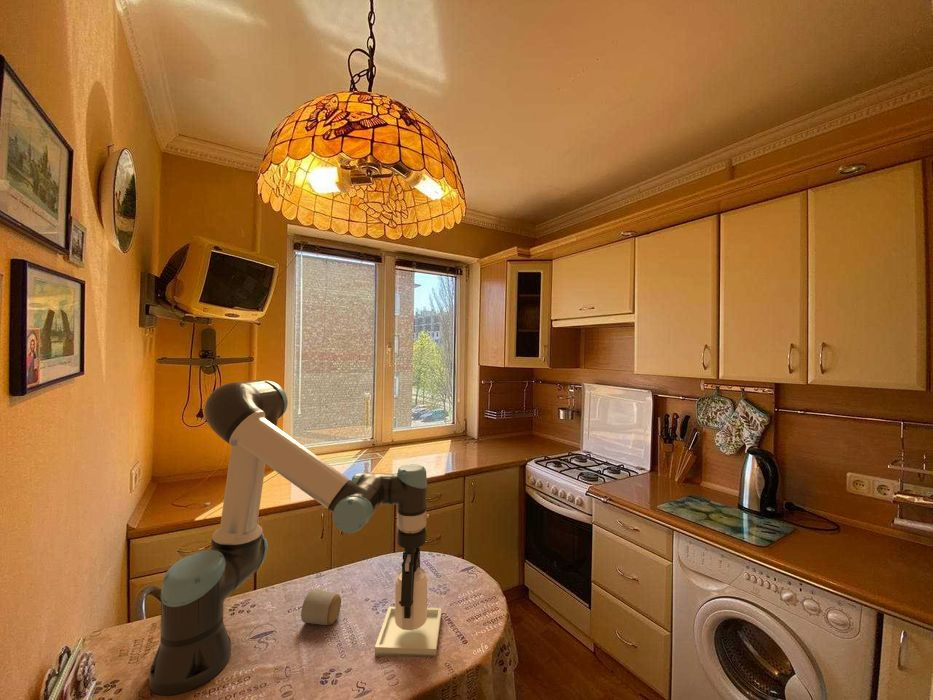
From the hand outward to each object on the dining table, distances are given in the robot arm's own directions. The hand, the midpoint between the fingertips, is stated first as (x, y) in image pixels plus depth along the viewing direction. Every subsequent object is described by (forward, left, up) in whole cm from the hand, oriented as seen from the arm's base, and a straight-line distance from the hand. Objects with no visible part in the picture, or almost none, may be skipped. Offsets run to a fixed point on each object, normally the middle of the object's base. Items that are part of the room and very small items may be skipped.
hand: (411, 616), depth 97 cm
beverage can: (0, 0, -1) cm, 1 cm away
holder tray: (0, 0, -5) cm, 5 cm away
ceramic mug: (-25, +5, -5) cm, 26 cm away
